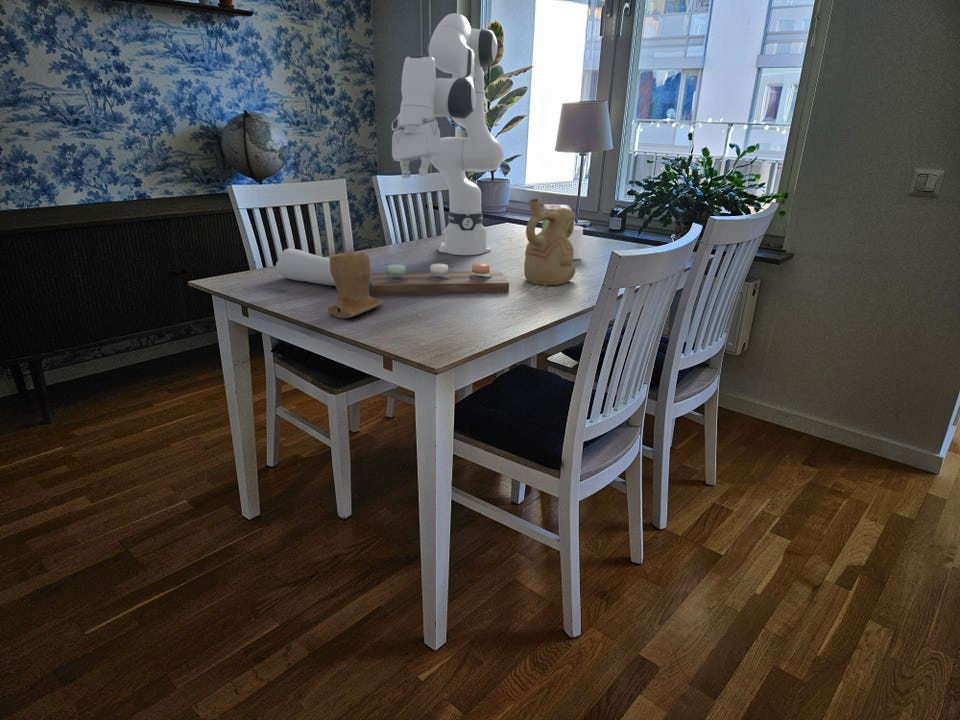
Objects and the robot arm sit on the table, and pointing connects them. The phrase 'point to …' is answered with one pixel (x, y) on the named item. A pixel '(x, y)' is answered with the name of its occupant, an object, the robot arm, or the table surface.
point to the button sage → (396, 269)
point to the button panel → (438, 283)
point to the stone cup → (351, 284)
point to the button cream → (439, 269)
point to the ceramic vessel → (549, 246)
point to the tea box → (552, 208)
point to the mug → (576, 241)
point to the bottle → (305, 267)
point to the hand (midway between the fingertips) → (414, 176)
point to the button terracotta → (480, 268)
